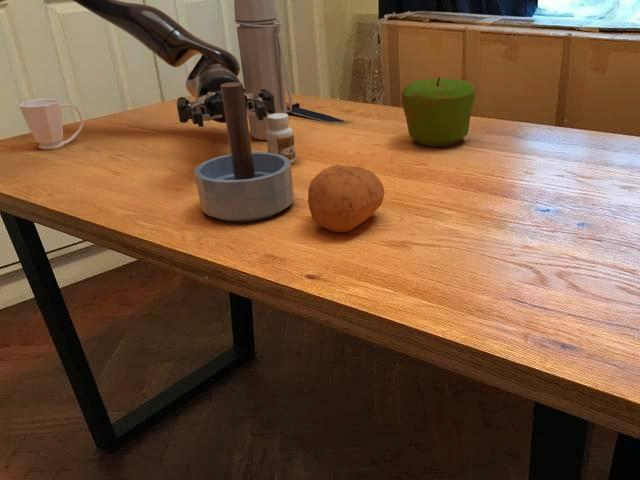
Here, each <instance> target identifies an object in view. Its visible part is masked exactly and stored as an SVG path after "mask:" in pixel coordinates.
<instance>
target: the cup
mask: <svg viewBox="0 0 640 480" xmlns="http://www.w3.org/2000/svg"><path fill="white" fill-rule="evenodd" d="M68 107H72V108H73V109H74V110H75V111H76V113H77V115H78V117H79V120H80V125H79V127H78V129H77V130H76V131H75V133H73V134H72V136H70V137H69V138H68V139H66V140H63V138H64V122H63V114H62V113H63V112H62V110H63V109H64V108H68ZM18 108H19V110H20V111H21V114H22V116H23V117H24V118H23V119H24V120H25V122H26V125H27V127H28V129H29V131H30V133H31V134H32V137H33V138H34V140H35V142H36V143H38V144H39V145H38V149H41V150H52V149H53V150H54V149H57V148H61V147H63V146H64V145H67V144H69V143H70V142H72V141H73V140H74V139H75V138H76V137H77V136H78V135H79V134H80V133H81V131H82V130H83V128H84V118H83V116H82V114H81V111H80V110H79V108H78V107H76V106H75V105H73V104H71V103H61V99H59V98H52V97H49V98H48V97H47V98H37V99H31V100H28V101H23V102H21V103H20V104H19V105H18Z"/></svg>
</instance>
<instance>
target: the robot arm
mask: <svg viewBox="0 0 640 480" xmlns="http://www.w3.org/2000/svg"><path fill="white" fill-rule="evenodd" d="M72 1H73V2H74V3H76V4H78V5H80V6H81V7H83V8H84V9H86V10H88V11H89V12H91V13H93V14H94V15H96V16H98V17H100V18H101V19H103V20H105V21H107V22H108V23H110V24H111V25H113V26H115V27H117V28H118V29H121V30H122V31H123V32H125V33H126V34H128V35H130V36H131V37H132V38H134V39H136V40H137V42H139V43H141V44H142V45H143V46H144V47H145V48H147V49H148V50H149V51H151V52H152V53H153V54H154V55H156V56H157V57H158V58H159V59H161V60H162V61H163V62H164V63H166V64H167V65H168V66H169V67H171V68H180V67H182V66H183V65H185V63H187V62H188V61H189V60H191V59H192V58H193V57H194V56H196V55H201V56H200V58H199V59H198V60H197V62H196V64H195V65H194V66H193V68H192V70H191V71H190V72H189V74H188V75H187V77H186V79H185V89H186V90H187V92H188V94H190V96H192V97H193V98H194V99H195V101H190V99H189V98H186V97H185V96H180V97H178V98H177V101H176V109H177V114H178V115H177V116H178V120H179V123H182V124H186V123H188V122H189V120H191V122H192V124H193V125H198V128H202V127H203V128H204V125H205V124H204V122H210V121H213V122H216V123H220V124H226V118H225V112H224V105H223V98H222V92H221V85H222V84H225V83H231V82H239V83H242V82H241V81H240V79H239V78H238V76H239V74H240V73H241V66H240V63H239V61H238V59H237V58H236V56H235V55H234V54H232V52H230V51H228V50H226V49H224V48H222V47H220V46H218V45H214V44H212V43H209V42H207V41H206V40H203V39H201V38H199V37H198V36H196V35H194V34H192V33H191V32H190V31H188V30H187V29H186V28H184V27H183V26H182V25H181V24H180V23H178V22H177V21H176V20H175V19H173V18H172V17H171V16H170V15H168V14H167V13H166V12H164V11H162V10H161V9H159V8H157V7H155V6H153V5H152V6H151V5H148V4H142V3H135V2H127V1H122V0H72ZM4 2H7V0H0V4H1V3H4ZM243 90H244V97H245V105H246V112H247V118H248V117H250V116H253V115H256V117H257V119H258V120H259V121H260V120H264V118H263V117H267V112H268V113H270V114H273V113H275V112H276V110H275V104H274V96H273V95H272V94H271V93H270V92H269V91H268V90H265V89H262V90H260V92H258V95H257V96H253V94H252V93H249V92H246V91H245V88H244V86H243ZM254 106H255V108H254Z"/></svg>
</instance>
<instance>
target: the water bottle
mask: <svg viewBox="0 0 640 480" xmlns="http://www.w3.org/2000/svg"><path fill="white" fill-rule="evenodd" d="M233 6H234V7H233V9H234V23H235V24H236V25H238V26H236V33H237V34H236V35H237V43H238V49H239V56H240V64H241V72H242V78H243V87H244V89H245V91H246V92H249V93H252V94H253V96H257V95H258V92H260V90H262V89H265V90H268V91H269V92H270V93H271V94H272V95H273V96H274V104H275V110H276V112H275V113H273V114H276V113H284V114H287V112H291V111H292V104H293V95H292V91H291V86H290V80H289V76H288V71H287V65H286V60H285V59H286V58H285V55H284V50H283V45H282V39H281V34H280V33H281V26H282V25H283V21H282V20H279V19H278V14H277V9H276V4H275V0H233ZM283 73H284V74H283ZM284 78H285V82H284ZM285 83H286V84H285ZM285 85H286V89H287V95H288V103H289V111H287V108H286V103H287V102H286V101H287V100H286V94H285V93H286V92H285ZM254 108H255V106H254ZM268 115H271V114H270V113H268V112H267V116H268ZM287 115H288V114H287ZM263 118H264V120H260V121H259V120H258V119H257V117H256V115H253V116H250V117H247V119H248V127H249V134H250V135H251V136H252V137H253V138H254V139H255V140H259V141H267V138H266V131H267V130H268V129H269V128H270V126H268V123H267V117H263Z"/></svg>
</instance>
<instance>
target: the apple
mask: <svg viewBox="0 0 640 480" xmlns="http://www.w3.org/2000/svg"><path fill="white" fill-rule="evenodd" d="M400 94H401V95H400V96H401V105H402V109H403V112H404V116H405V119H406V125H407V131H408V134H409V136H410V137H411V138H412V139H413V140H414V141H416V142H417V143H418V144H420V145H423V146H427V147H441V148H442V147H450V146H454V145H455V144H456V143H458V142H460V141H461V140H462V139H464V138H465V137H466V136H469V135H468V134H469V130H470V129H469V128H470V121H471V116H472V112H473V109H474V104H475V100H476V88H475V87H474V86H473V84H471V82H470V81H468V80H463V79H458V78H457V79H454V78H441V77H440V76H438V78H429V79H419V80H413V81H411V82H409V83H408V84H407V85H406V86H405V87H404V88H403V90H402V91H401V92H400Z"/></svg>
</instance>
